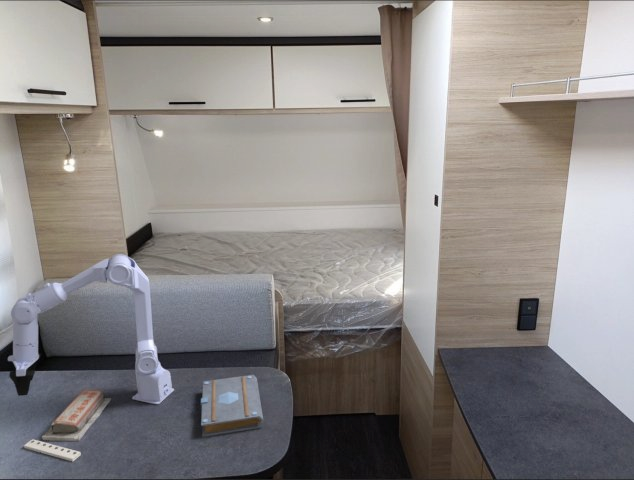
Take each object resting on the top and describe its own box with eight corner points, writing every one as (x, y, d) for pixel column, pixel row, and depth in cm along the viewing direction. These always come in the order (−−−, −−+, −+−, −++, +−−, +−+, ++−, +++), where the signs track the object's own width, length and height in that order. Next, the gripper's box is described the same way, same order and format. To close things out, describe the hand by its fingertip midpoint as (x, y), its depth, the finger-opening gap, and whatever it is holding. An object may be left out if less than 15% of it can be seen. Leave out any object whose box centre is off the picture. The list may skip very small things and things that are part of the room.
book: (263, 428, 123) (262, 412, 122) (200, 438, 120) (199, 422, 119) (257, 386, 143) (256, 371, 142) (203, 393, 140) (201, 379, 139)
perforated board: (81, 454, 115) (80, 451, 114) (72, 461, 112) (72, 458, 112) (33, 441, 120) (32, 438, 119) (24, 448, 117) (23, 445, 117)
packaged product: (76, 387, 136) (109, 387, 136) (79, 401, 137) (111, 401, 137) (38, 426, 119) (76, 426, 118) (42, 442, 120) (79, 442, 120)
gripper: (13, 330, 128) (13, 375, 131) (1, 354, 115) (2, 403, 118) (42, 329, 131) (42, 373, 133) (34, 352, 118) (34, 400, 120)
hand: (25, 387), depth 126 cm, fingers open, 7 cm apart
